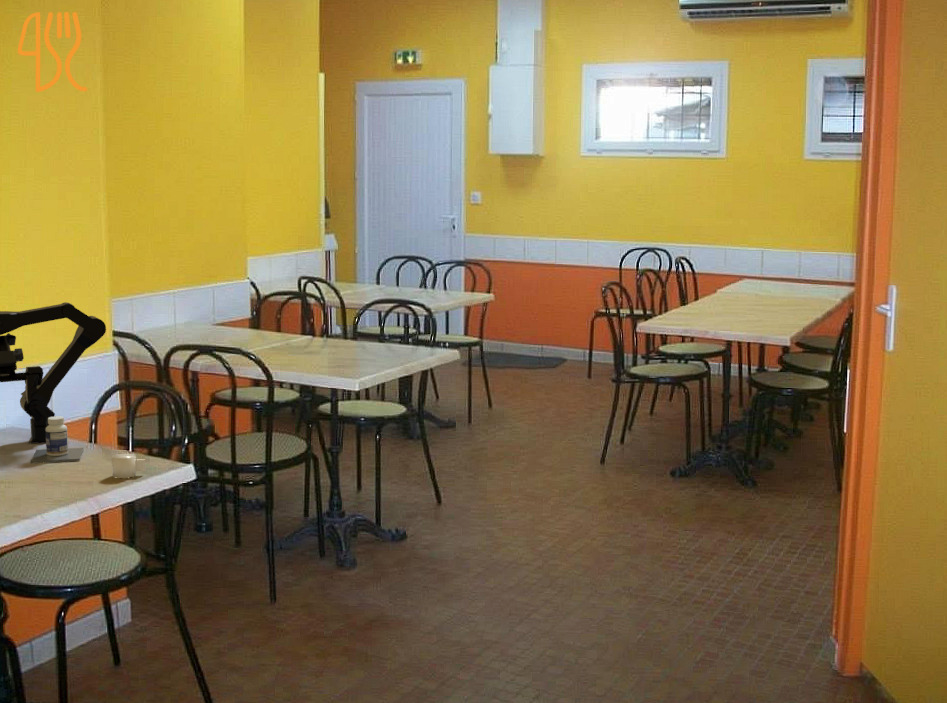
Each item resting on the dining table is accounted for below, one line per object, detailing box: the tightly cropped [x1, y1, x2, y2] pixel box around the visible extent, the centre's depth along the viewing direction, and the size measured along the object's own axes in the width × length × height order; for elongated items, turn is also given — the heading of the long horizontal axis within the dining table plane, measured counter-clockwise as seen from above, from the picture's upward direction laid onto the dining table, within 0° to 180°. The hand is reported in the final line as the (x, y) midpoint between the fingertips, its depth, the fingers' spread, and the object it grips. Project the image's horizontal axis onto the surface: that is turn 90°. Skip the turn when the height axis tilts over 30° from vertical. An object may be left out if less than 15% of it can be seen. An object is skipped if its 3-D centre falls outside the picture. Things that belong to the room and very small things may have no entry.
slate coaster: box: [30, 447, 84, 464], centre depth 309 cm, size 12×12×1 cm
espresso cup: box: [111, 453, 146, 479], centre depth 291 cm, size 6×8×5 cm
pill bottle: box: [45, 415, 69, 456], centre depth 308 cm, size 5×5×10 cm
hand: (10, 404), depth 308 cm, fingers open, 9 cm apart
